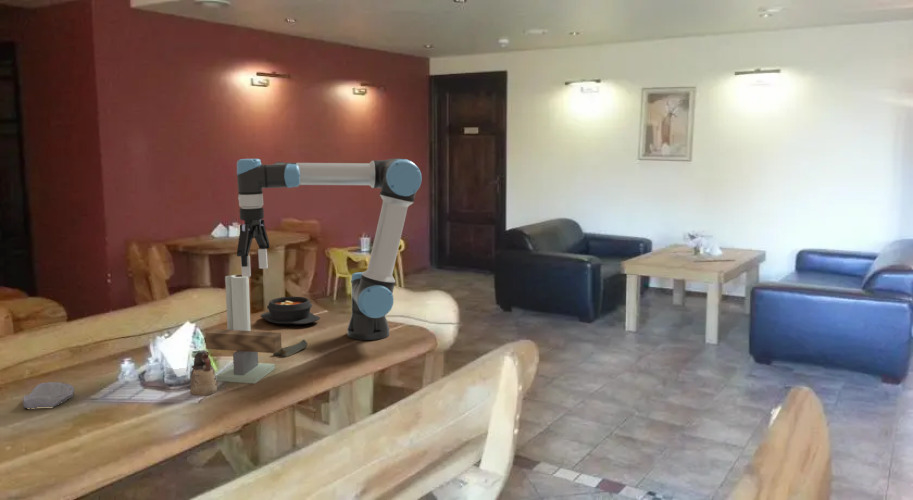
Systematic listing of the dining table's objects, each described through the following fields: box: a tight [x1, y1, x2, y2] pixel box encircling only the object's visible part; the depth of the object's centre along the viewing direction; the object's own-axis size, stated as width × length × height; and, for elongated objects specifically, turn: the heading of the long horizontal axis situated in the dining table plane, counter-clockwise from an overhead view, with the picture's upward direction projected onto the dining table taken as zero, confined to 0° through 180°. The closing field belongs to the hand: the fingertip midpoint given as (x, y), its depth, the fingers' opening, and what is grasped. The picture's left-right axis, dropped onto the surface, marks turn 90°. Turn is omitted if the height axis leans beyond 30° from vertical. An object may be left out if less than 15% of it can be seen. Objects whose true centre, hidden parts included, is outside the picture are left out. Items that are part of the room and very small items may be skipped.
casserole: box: [260, 296, 321, 326], centre depth 285 cm, size 25×19×8 cm
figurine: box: [189, 349, 218, 396], centre depth 208 cm, size 7×7×12 cm
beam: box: [204, 328, 283, 354], centre depth 222 cm, size 22×4×5 cm, turn 80°
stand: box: [215, 351, 276, 384], centre depth 223 cm, size 12×14×8 cm
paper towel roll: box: [224, 273, 252, 331], centre depth 267 cm, size 7×6×21 cm
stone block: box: [22, 381, 75, 409], centre depth 200 cm, size 12×5×10 cm
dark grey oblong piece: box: [272, 339, 308, 358], centre depth 246 cm, size 13×5×4 cm, turn 138°
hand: (255, 272), depth 241 cm, fingers open, 13 cm apart
